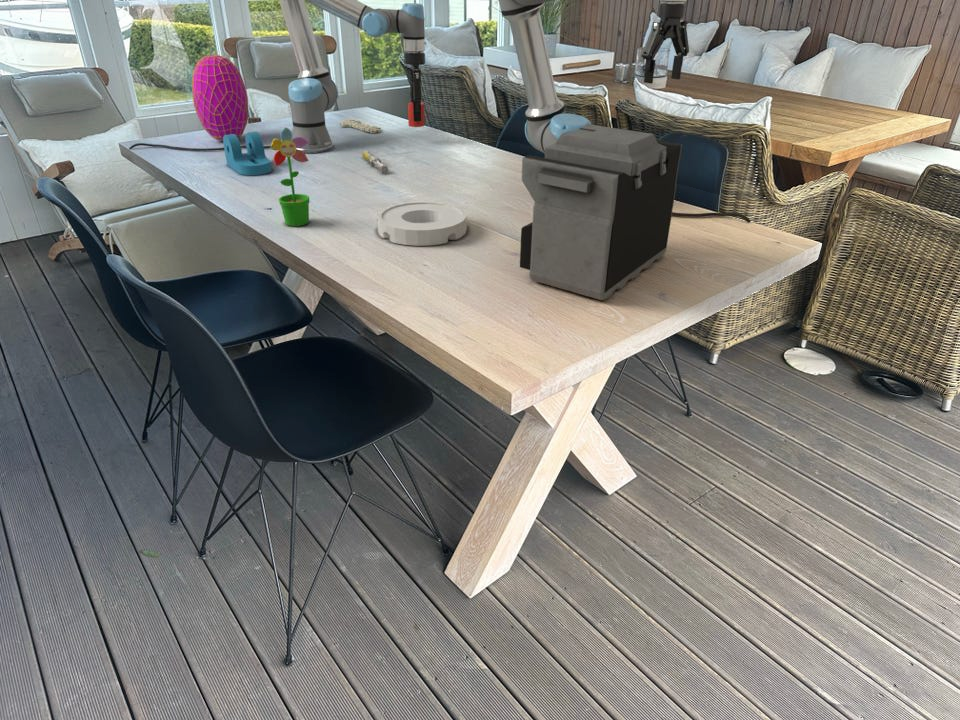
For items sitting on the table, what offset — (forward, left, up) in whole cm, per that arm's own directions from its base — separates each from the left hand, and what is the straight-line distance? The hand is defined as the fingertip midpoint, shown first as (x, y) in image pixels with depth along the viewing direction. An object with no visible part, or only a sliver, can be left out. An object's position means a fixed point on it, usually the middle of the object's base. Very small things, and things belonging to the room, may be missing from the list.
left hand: (416, 119), depth 257 cm
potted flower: (+9, -93, -9) cm, 94 cm away
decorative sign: (-34, +16, -9) cm, 39 cm away
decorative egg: (-68, -24, -9) cm, 73 cm away
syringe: (0, -33, -9) cm, 35 cm away
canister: (0, 0, -2) cm, 2 cm away
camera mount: (-36, -54, -9) cm, 65 cm away
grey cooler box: (+90, -93, -9) cm, 130 cm away
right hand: (+90, -12, +21) cm, 93 cm away
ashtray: (+42, -86, -9) cm, 96 cm away
